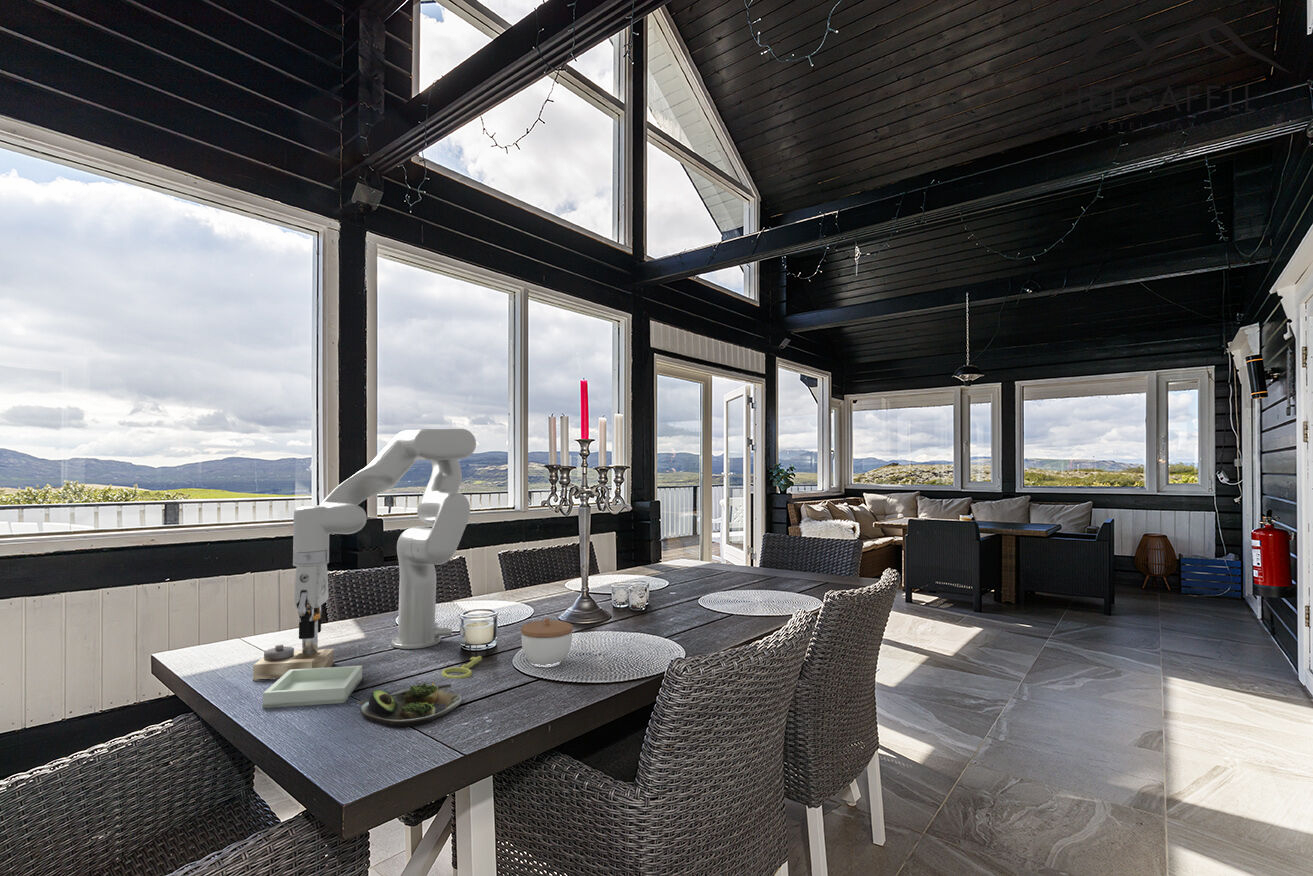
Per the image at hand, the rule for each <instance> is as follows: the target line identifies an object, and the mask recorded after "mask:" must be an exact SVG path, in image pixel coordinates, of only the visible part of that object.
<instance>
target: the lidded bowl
mask: <svg viewBox="0 0 1313 876" xmlns="http://www.w3.org/2000/svg"><path fill="white" fill-rule="evenodd" d="M573 628H574V627H573V624H572V623H571V622H568V621H563V620H554V619H552V620H551V619H550V617H544V620H536V621H531V622H530V621H529V622H528V623H525V624H523V625H522V626H521V627H520V634H521V635H520V636H521V649H522V651H523V655H524V656H525V658H526V660H528V661H529V663H531V664H532V663H533V664H540V665H546V664H553V663H557V662H560V661H562V660H563V661H564V660H565V659H566V658H567V656H568V654H569V652H570V650H571V646H572V640H573ZM563 661H562V662H563Z"/></svg>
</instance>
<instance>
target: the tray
mask: <svg viewBox="0 0 1313 876" xmlns="http://www.w3.org/2000/svg"><path fill="white" fill-rule="evenodd" d="M362 680H363V665H349V666H348V665H347V666H330V667H326V668H308V669H290V670H289V671H287V672H286V673H285V674H284V675H283V676H282V677H281V678H280V679H276V681H275V682H274V683H273V684H271V685H270V686H269V687H268V688H267V689H266V690H265V691H264V692H262V709H271V708H287V707H288V708H291V707H302V706H303V707H304V706H318V705H330V704H344V703H345V702H346V701H347V700H348V699H349V697H350V696H351V695H352V693H353V692H354V690H355V689H356V688H357V686H358V685H359V684H360V683H361V681H362Z"/></svg>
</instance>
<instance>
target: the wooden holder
mask: <svg viewBox="0 0 1313 876" xmlns="http://www.w3.org/2000/svg"><path fill="white" fill-rule="evenodd" d="M334 653H335V648H325V649H324V648H322V649H318V652H317V653H316V654H313V655H302V650H295V648H294V647H292V646H284V644H277V645H275V646H274V647H273V648H269V649H267V650H264V652H263V657H262V658H261V659H259V660H258V661H256V662H255V663H254V664H253V669H252V671H253V672H252V681H253V680H254V681H258V680H257V679H271V680H277V679H276V678H281V677H282V676H283V675H284V674H285V673H286V672H287V671H289V670H290V669H308V668H326V667H332V666H333V664H334V659H335V658H334V657H335V656H334ZM273 678H275V679H273Z"/></svg>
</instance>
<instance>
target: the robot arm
mask: <svg viewBox="0 0 1313 876" xmlns="http://www.w3.org/2000/svg"><path fill="white" fill-rule="evenodd" d="M476 447H477V440H476V437H475V435H474V434H473V433H472V431H470V430H468V429H465V428H412V429H409V428H408V429H404V430H402V431H400V432H398V433H397V434H396V435H395V436H394V437H393V438H391V440H390V441H389V442H388V443H387V444H386V446H385V447H383V448H382V449H381V451H380V452H379V453H378V454H377V455H376V456H375V457H374V458H373V459H372V461H370V463H369V464H367V465H366V466H365V467H364V468H362V469H360V470H359V471H357V472H355V474H353V475H352V476H350V477H349V478H347V479H346V480H344V481H343V482H341V483H340V484H339V485H338V486H336V487H335V488H334V489H333V490H332V491H331V492H330V493H329V494H328V495H327V496H326V497H325V498H324V499H323V501H322V502H321V503H320V504H319V505H318V504H317V505H302V506H298V507H296V508H295V509H294V512H293V531H292V533H293V534H292V535H293V538H292V539H293V540H292V542H293V543H292V545H293V546H292V549H293V551H292V554H293V555H292V557H293V558H292V566H293V567H296V569H295V580H294V582H295V583H294V607H295V608H296V609H297V614H298V639H299V640H302V639H311V638H314V636H315V620H314V621H313V615H314V613H320V619H318V634H319V633H321V631H322V605H323V604H325V603H326V602H328V600H329V574H328V564H329V563H330V535H331V534H334V535H351V534H355V533H358V532H359V531H361V530H362V529H363V528H364V527H365V525H366V524H367V520H368V519H367V518H368V517H367V513H366V511H365V509H364V508H363V507H361V506H359V505H360V504H361V503H362V502H364V501H366V500H368V499H369V498H371V497H374V496H375V495H378V494H382V493H385V492H387V491H388V490H390V489H392V488H393V487H395V486H396V485H397V484H398V482H400V480H401V479H403V477H404V475H405V474H407V472H408V471H409V470H410V469H411V468H412V467H413V465H414V464H415V463H416V462H418V461H430V462H431V468H432V469H431V475H430V477H429V481H427V482H428V483H427V484H426V487H425V489H424V492H423V494H422V496H421V499H420V501H419V503H418V507H417V510H416V511H417V512H416V513H417V514H416V515H417V517H418V518H419V520H420V521H421V522H423V523H425V524H427V525H432V527H427V526H413V527H409V528H407V529H405V530H404V531H403V532H401V534H400V535H399V537H398V540H397V543H396V553H397V560H398V569H399V585H398V617H397V618H398V619H397V620H398V621H397V627H398V628H397V636H396V637H394V638H393V639H391V646H392V647H393V648H396V649H400V650H401V649H402V650H403V649H404V650H413V649H414V650H415V649H423V648H429V647H432V646H436V645H438V644H439V643H440V642H441V640H442V638H441V637H442V636H445V637H446V636H447V637H449V636H450V637H451V636H452V634H453V629H452V628H451V627H450V628H449V627H440V626H438V622H436V608H437V607H436V605H437V604H436V603H437V571H436V568H435V565H443V564H446V563H448V562H449V561H450V560H451V559H452V558H453V556H455V554H456V552H457V550H458V547H459V545H460V542H461V540H462V537H463V535H464V531H466V528H467V527H466V526H467V525H468V521H469V518H470V515H471V505H470V501H469V499H468V498H467V496H465V495H464V494H462V493H461V492H459V489H460V486H461V484H462V480H463V479H462V478H463V472H462V468H461V464H460V461H459V460H461V459H462V460H463V459H467V458H468V457H470V456H472V455H473V453H474V451H475V450H476ZM309 613H310V614H309Z"/></svg>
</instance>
